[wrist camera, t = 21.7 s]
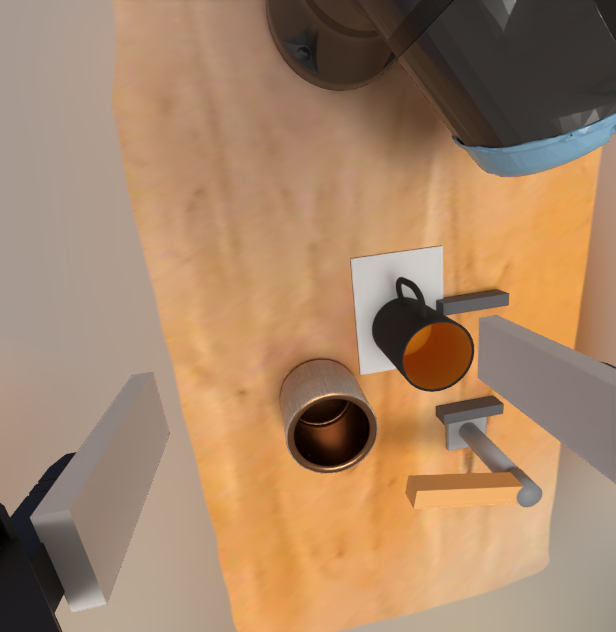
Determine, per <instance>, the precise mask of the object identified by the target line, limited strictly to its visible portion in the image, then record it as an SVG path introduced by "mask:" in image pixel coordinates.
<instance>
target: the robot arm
mask: <svg viewBox="0 0 616 632" xmlns="http://www.w3.org/2000/svg"><path fill="white" fill-rule="evenodd" d="M266 11H267V18H268V23H269V27H270V30H271V34H272V36H273V39H274V41H275V44H276V46H277V48H278V50H279V51H280V53H281V55H282V56H283V58H284V59H285V61H286V62H287V63H288V64H289V66H290V67H291V68H292V69H293V70H294V71H295V72H296V73H297V74H299V75H300V76H301V77H302V78H304V79H305V80H307V81H308V82H310V83H312V84H314V85H316V86H319V87H321V88H325V89H329V90H338V91H342V90H351V89H356V88H359V87H362V86H364V85H366V84H368V83H370V82H372V81H373V80H375V79H376V78H377V77H379V76H380V75H381V74H382V73H383V72H384V71H385V70H386V69H387V68H388V67H389V66H390V65H391V64H392V63H393V62H394V60H395V59H396V58H398V61H399V62H400V64H401V65H402V66H403V68H404V69H405V70H406V72H407V73H408V74H409V76H410V77H411V78H412V80H413V81H414V83H415V84H416V85H417V87H418V88H419V89H420V91H421V92H422V93H423V95H424V96H425V98H426V99H427V100H428V102H429V103H430V104H431V106H432V107H433V108H434V110H435V111H436V112H437V114H438V115H439V117H440V118H441V119H442V121H443V122H444V123H445V125H446V126H447V127H448V129H449V130H450V131H451V133H452V138H453V140H454V141H455V143H456V144H457V145H458V146H460V147H461V148H463V149H465V150H466V151H467V153H468V154H469V155H470V156H471V157H472V159H473V160H474V161H475V162H476V163H477V165H478V166H479V167H480V168H481V169H483V170H484V171H485V172H487V173H490V174H495V175H498V176H500V177H520V176H526V175H532V174H536V173H539V172H543V171H546V170H549V169H552V168H555V167H558V166H561V165H563V164H566V163H568V162H570V161H573V160H575V159H577V158H580V157H582V156H584V155H586V154H588V153H590V152H592V151H593V150H595V149H597V148H599V147H600V146H602V145H604V144H605V143H607V142H609V140H610V138H611V135H613V134H615V133H616V0H266ZM478 378H479V379H480V380H481V381H483V382H484V383H485V384H486V385H488V386H489V387H490V388H492V389H493V390H494V391H496V392H497V393H498V394H499V395H501V396H502V397H503V398H505V399H506V400H507V401H509V402H510V403H511V404H512V405H514V406H515V407H516V408H518V409H519V410H520V411H521V412H523V413H524V414H525V415H527V416H528V417H529V418H531V419H532V420H533V421H534V422H536V423H537V424H538V425H540V426H541V427H542V428H544V429H545V430H546V431H547V432H549V433H550V434H551V435H553V436H554V437H555V438H557V439H558V440H559V441H560V442H562V443H563V444H564V445H566V446H567V447H568V448H570V449H571V450H572V451H574V452H575V453H576V454H578V455H579V456H580V457H581V458H583V459H584V460H585V461H586V462H588V463H589V464H590V465H592V466H593V467H594V468H595V469H597V470H598V471H599V472H601V473H602V474H603V475H605V476H606V477H607V478H609V479H610V480H611V481H612V482H614V483H615V484H616V367H614V366H612V365H610V364H608V363H604V362H600V361H597V360H595V359H593V358H590V357H588V356H586V355H584V354H581V353H579V352H577V351H575V350H573V349H570V348H568V347H566V346H564V345H562V344H559V343H557V342H555V341H553V340H551V339H548V338H546V337H544V336H542V335H539V334H537V333H535V332H533V331H531V330H528V329H526V328H524V327H522V326H520V325H517V324H515V323H513V322H511V321H509V320H506V319H504V318H502V317H500V316H497V315H494V316H488V317H482V318H479V347H478ZM169 435H170V432H169V428H168V425H167V421H166V417H165V414H164V410H163V406H162V403H161V399H160V395H159V392H158V388H157V385H156V381H155V377H154V373H153V372H147V373H141V374H135V375H132V376H131V377H130V379H129V380H128V381H127V383H126V384H125V386H124V387H123V388H122V390H121V391H120V393H119V394H118V395H117V397H116V398H115V400H114V401H113V402H112V404H111V405H110V407H109V408H108V409H107V411H106V412H105V413H104V415H103V416H102V418H101V419H100V420H99V422H98V423H97V425H96V426H95V427H94V429H93V430H92V432H91V433H90V434H89V436H88V437H87V439H86V440H85V441H84V443H83V444H82V445H81V447H80V448H79V450H78V451H77V452H75V453H70V454H66V455H64V456H63V457H62V458H60V459H59V460H58V461H57V462H56V463H54V464H53V465H52V466H50V467H49V468H48V470H47V471H46V472H45V474H44V475H43V476H42V478H41V479H40V480H39V481H38V482H39V483H38V484H36V485H35V486H34V488H33V489H32V490H31V491H30V493H29V496H27V497H26V498H25V499H24V500H23V502H22V503H21V504H20V506H19V507H18V508H17V510H16V511H15V512H14V514H13V515H12V516H11V517H9V515H8V513H7V511H6V509H5V506H4V505H2V504H1V503H0V632H62V630H61V627H60V625H59V623H58V621H57V618H56V616H55V614H54V613H55V611H56V609H57V607H58V605H59V603H60V601H61V599H62V596H63V595H64V596H65V598H66V600H67V602H68V605H69V607H70V609H71V611H72V612H76V611H80V610H85V609H89V608H94V607H98V606H103V605H107V603H108V600H109V598H110V595H111V592H112V589H113V586H114V584H115V581H116V579H117V576H118V573H119V571H120V568H121V565H122V562H123V559H124V557H125V554H126V552H127V548H128V546H129V543H130V541H131V538H132V535H133V532H134V530H135V527H136V524H137V522H138V519H139V516H140V513H141V511H142V508H143V505H144V502H145V500H146V497H147V495H148V492H149V489H150V486H151V484H152V481H153V478H154V475H155V472H156V470H157V467H158V465H159V462H160V459H161V456H162V454H163V451H164V448H165V446H166V443H167V440H168V437H169Z"/></svg>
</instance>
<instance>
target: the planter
mask: <svg viewBox="0 0 616 632" xmlns="http://www.w3.org/2000/svg"><path fill="white" fill-rule="evenodd" d="M280 406H281V412H282V418H283V424H284V430H285V437H286V443H287V447H288V450H289V452H290V454H291V456H292V457H293V459H294V460H295V461H296V462H297V463H298V464H299V465H301V466H302V467H304V468H305V469H307V470H310V471H313V472H317V473H325V474H329V473H337V472H341V471H344V470H347V469H349V468H351V467H353V466H355V465H357V464H358V463H359V462H361V461H362V460H363V459H364V458H365V457H366V456H367V455H368V454H369V452H370V451H371V449H372V448H373V446H374V444H375V441H376V438H377V433H378V424H377V419H376V416H375V413H374V411H373V410H372V408H371V406H370V404H369V403H368V401H367V399H366V397H365V395H364V394H363V392H362V390H361V388H360V386H359V384H358V382H357V381H356V379H355V377H354V376H353V374H352V373H351V372H350V371H349V370H348V369H347V368H346V367H344V366H343V365H341V364H339V363H337V362H334V361H331V360H314V361H310V362H307V363H304V364H302V365H300V366H299V367H297V368H296V369H295V370H293V371H292V372H291V373H290V374H289V376H288V377H287V378H286V380H285V382H284V384H283V386H282V389H281V394H280Z"/></svg>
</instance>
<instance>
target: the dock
mask: <svg viewBox="0 0 616 632" xmlns="http://www.w3.org/2000/svg"><path fill="white" fill-rule="evenodd" d="M507 305H509V293H506V292H503V291H501V290H498V289H497V290H491V291H485V292H478V293H472V294H465V295H459V296H453V297H446V298H443V299H440V300H436V311H438V312H439V313H441V314H443V315H451V314H458V313H464V312H470V311H476V310H482V309H488V308H495V307H501V306H507ZM503 407H504V404H503V403H502V402H501V401H499V400H498V399H497V398H496V397H494V396H489V397H483V398H478V399H473V400H467V401H462V402H457V403H451V404H446V405H441V406H436V416H437V417H438V418H439V419H440V421H441V422H442V423H443V424H444V425H446V448H447V450H448V451H451V450H456V449H461V448H466V447H470V448H471V449H472V450H473V451H474V452H475V453H476V455H477V456H478V457H479V458H480V459H481V460H482V461H483V462H484V464H485V465H486V466H487V467H488V468H489V469H490V470H491V471H492V473H500V472H507V471H509V470H510V469H513V468H518V467H517V466H516V465H515V464H514V463H513V462H512V461H511V460H510V459H509V458H508V457H507V456H506V455H505V454H504V453H503V452H502V451H501V450H500V449H499V448H498V447H497V446H496V445H495V444H494V443H493V442H492V441H491V440H490V439H489V438H488V437H487V436H486V419H487V417H488V416H493V415H498V414H503Z"/></svg>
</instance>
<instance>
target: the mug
mask: <svg viewBox="0 0 616 632" xmlns="http://www.w3.org/2000/svg"><path fill="white" fill-rule="evenodd" d="M402 284H403V285H405V286H407V287H409V288H410V289H411V290H412V291H413V292H414V294H415V296H416V298H417V299H414V298H409V297H404V296H403V292H402ZM396 293H397V296H398V298H396V299H394V300H391V301H389V302H388V303H386V304H385V305H384V306H383V307H382V308H381V309H380V310H379V311H378V313H377V314H376V316H375V318H374V321H373V325H372V335H373V339H374V342H375V343H376V345H377V346H378V348H379V349H380V350H381V351H382V352H383V353H384V354H385V356H386V357H387V358H388V359H389V360H390V361H391V362H392V364H393V365H394V366H395V367H396V368H397V369H398V370H399V372H400V373H401V374H402V375H403V376H404V377H405V378H406V380H407V381H408V382H409V383H410V384H411V385H413V386H414V387H416V388H418V389H420V390H423V391H430V392H434V391H441V390H444V389H447V388H449V387H451V386H453V385H454V384H456V383H457V382H458V381H460V380H461V379H462V378H463V377H464V376H465V374H466V373H467V371H468V370H469V368H470V366H471V364H472V361H473V357H474V344H473V340H472V338H471V335H470V334H469V332H468V331H467V330H466V329H465V328H464V327H463V326H462V325H460V324H458V323H457V322H455V321H453V320H452V319H450V318H448V317H446V316H445V315H443V314H441V313H439V312H438V311H436V310H434V309H433V308H431V307H429V306H427V305H426V304H425V299H424V296H423V294H422V292H421V290H420V289H419V287H418V286H417V285H416V284H415V283H414V282H413V281H411V280H409V279H407V278H404V277H399V278H398V279H397V280H396Z"/></svg>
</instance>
